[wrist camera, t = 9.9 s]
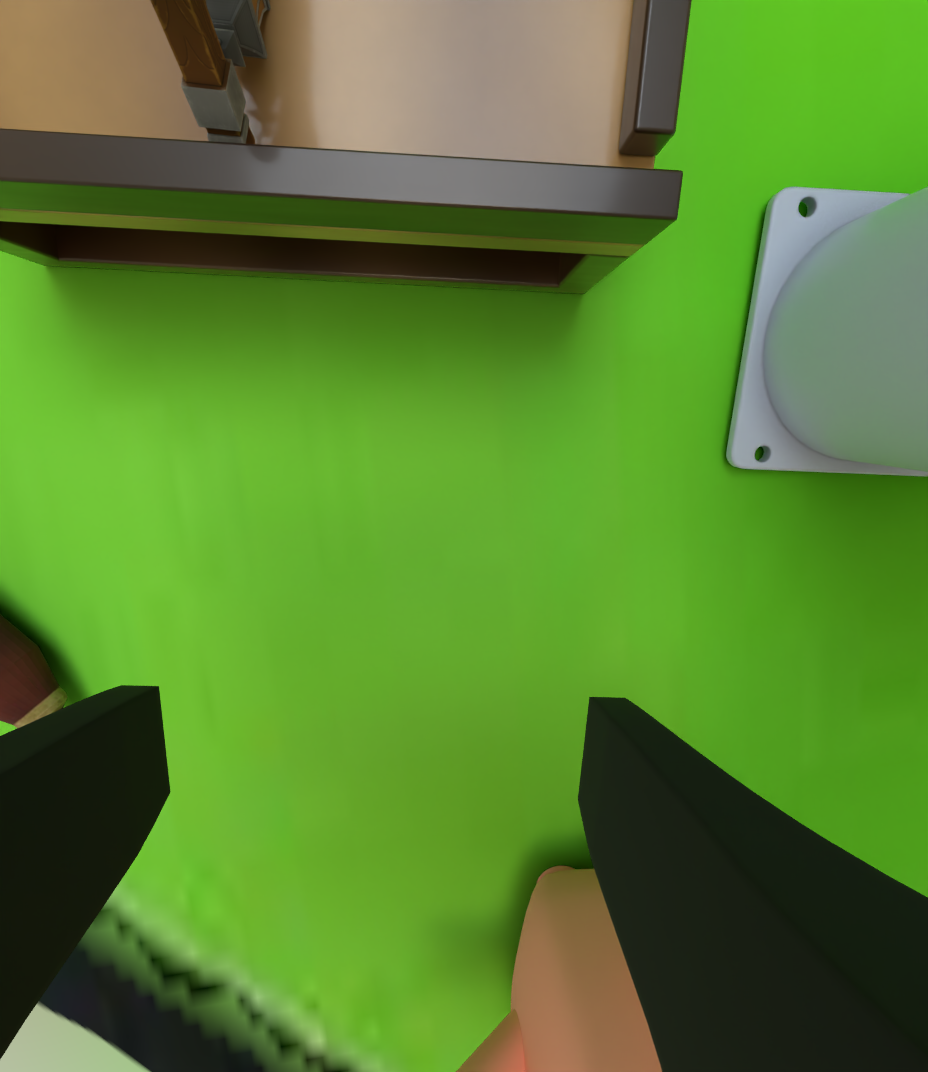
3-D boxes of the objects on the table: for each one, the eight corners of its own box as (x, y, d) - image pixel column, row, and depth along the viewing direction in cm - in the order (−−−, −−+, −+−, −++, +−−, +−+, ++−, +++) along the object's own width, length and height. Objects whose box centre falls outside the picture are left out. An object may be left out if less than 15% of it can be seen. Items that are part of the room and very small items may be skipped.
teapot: (409, 927, 22) (375, 1323, 12) (640, 762, 20) (803, 1077, 11) (579, 1074, 24) (659, 1502, 15) (799, 938, 22) (1050, 1324, 13)
